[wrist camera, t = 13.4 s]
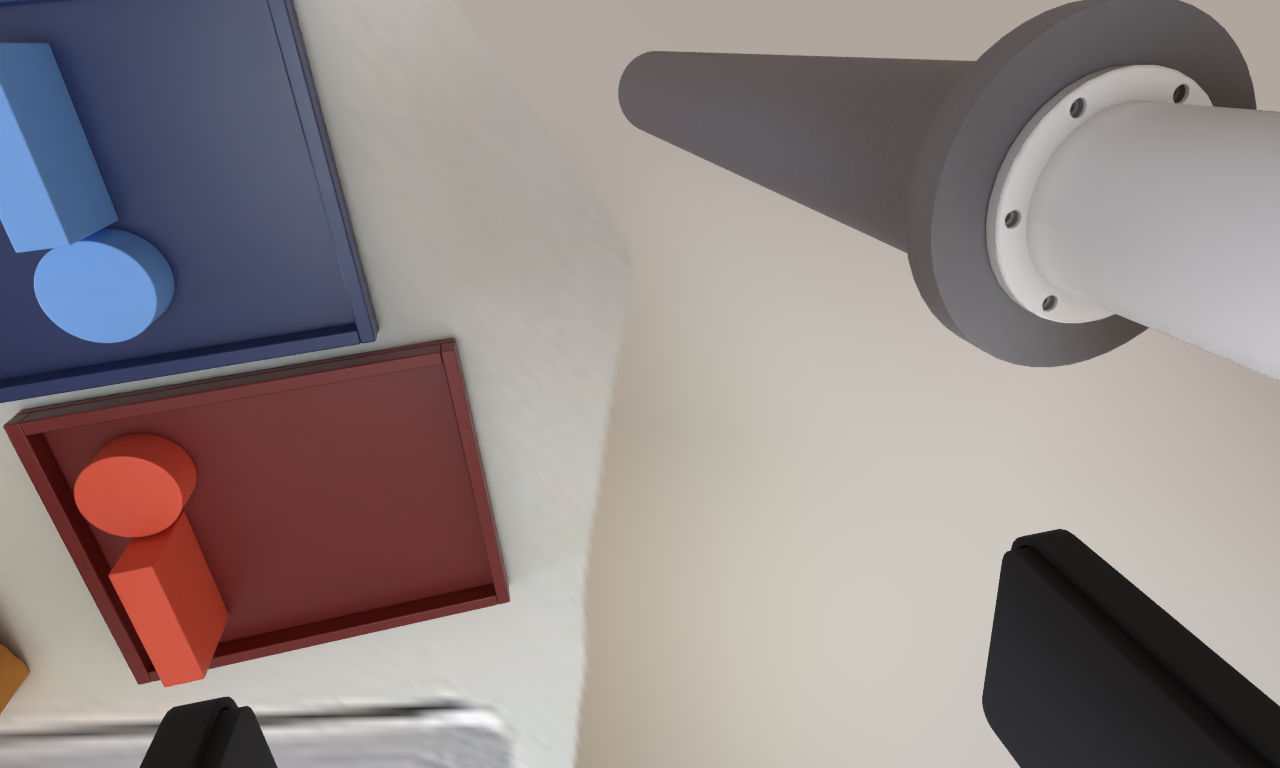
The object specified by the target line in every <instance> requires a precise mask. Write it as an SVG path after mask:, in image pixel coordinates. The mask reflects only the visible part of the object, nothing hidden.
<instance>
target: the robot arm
mask: <svg viewBox="0 0 1280 768" xmlns="http://www.w3.org/2000/svg"><path fill="white" fill-rule="evenodd" d="M986 243H987V251H988V255H989V260H990V264H991V268H992V270H993V272H994V274H995V276H996V279H997V281H998V283H999V285H1000V286H1001V287H1002V289H1003V290H1004V291H1005V292H1006V294H1007V295H1008V296H1009V297H1010V299H1011V300H1013V301H1014V302H1015V303H1017V304H1018V305H1020V306H1021V307H1022V308H1024V309H1025V310H1027V311H1029V312H1031V313H1033V314H1035V315H1037V316H1040V317H1042V318H1044V319H1048V320H1052V321H1056V322H1060V323H1085V322H1090V321H1095V320H1101V319H1103V318H1106V317H1108V316H1111V315H1114V314H1117V315H1120V316H1122V317H1125V318H1127V319H1130V320H1132V321H1134V322H1137V323H1139V324H1142V325H1144V326H1147V327H1149V328H1152V329H1154V330H1156V331H1159V332H1161V333H1164V334H1166V335H1169V336H1171V337H1174V338H1176V339H1179V340H1181V341H1183V342H1186V343H1188V344H1191V345H1193V346H1196V347H1198V348H1201V349H1203V350H1205V351H1208V352H1211V353H1213V354H1215V355H1218V356H1220V357H1223V358H1225V359H1227V360H1230V361H1232V362H1235V363H1237V364H1240V365H1242V366H1245V367H1247V368H1249V369H1252V370H1254V371H1257V372H1259V373H1262V374H1264V375H1267V376H1269V377H1272V378H1274V379H1276V380H1279V381H1280V112H1275V111H1262V110H1250V109H1238V108H1226V107H1214V106H1213V104H1212V103H1211V101H1210V99H1209V97H1208V95H1207V94H1206V93H1205V92H1204V91H1203V90H1202V88H1201V87H1200V86H1199V85H1198V84H1197V83H1196V82H1195V81H1194V80H1193V79H1191V78H1189V77H1187V76H1186V75H1184V74H1182V73H1181V72H1179V71H1177V70H1174V69H1170V68H1166V67H1162V66H1158V65H1141V64H1129V65H1122V66H1114V67H1109V68H1106V69H1103V70H1100V71H1097V72H1094V73H1091V74H1089V75H1086V76H1085V77H1083V78H1081V79H1079V80H1078V81H1076V82H1074V83H1072V84H1071V85H1069V86H1067V87H1065V88H1064V89H1063V90H1062V91H1060V92H1059V93H1058V94H1057V95H1055V96H1054V97H1053V98H1052V99H1051V100H1049V101H1048V102H1047V103H1046V104H1045V105H1043V106H1042V108H1041V109H1040V110H1039V111H1038V112H1037V113H1036V114H1035V115H1034V116H1033V118H1032V119H1031V120H1030V121H1029V122H1028V123H1027V124H1026V125H1025V127H1024V128H1023V130H1022V131H1021V133H1020V134H1019V135H1018V137H1017V138H1016V140H1015V141H1014V143H1013V144H1012V146H1011V147H1010V149H1009V151H1008V153H1007V155H1006V157H1005V159H1004V161H1003V163H1002V165H1001V168H1000V170H999V172H998V174H997V177H996V180H995V183H994V186H993V190H992V193H991V196H990V199H989V206H988V213H987V220H986ZM982 704H983V710H984V713H985V716H986V718H987V721H988V723H989V725H990V726H991V728H992V729H993V731H994V732H995V734H996V735H997V736H998V738H999V739H1000V740H1001V742H1002V743H1003V744H1004V746H1005V747H1006V748H1007V750H1008V751H1009V752H1010V754H1011V755H1012V756H1013V758H1014V759H1015V761H1016V762H1017V763H1018V765H1019V766H1020V767H1021V768H1280V706H1279V705H1277V704H1276V703H1275V702H1274V701H1273V700H1271V699H1270V698H1269V697H1268V696H1267V695H1265V694H1264V693H1263V692H1262V691H1261V690H1259V689H1258V688H1257V687H1256V686H1255V685H1253V684H1252V683H1251V682H1250V681H1249V680H1247V679H1246V678H1245V677H1244V676H1243V675H1241V674H1240V673H1239V672H1238V671H1237V670H1235V669H1234V668H1233V667H1232V666H1231V665H1229V664H1228V663H1227V662H1226V661H1224V660H1223V659H1222V658H1221V657H1220V656H1219V655H1217V654H1216V653H1215V652H1214V651H1213V650H1211V649H1210V648H1209V647H1208V646H1206V645H1205V644H1204V643H1203V642H1202V641H1201V640H1199V639H1198V638H1197V637H1196V636H1195V635H1193V634H1192V633H1191V632H1190V631H1189V630H1187V629H1186V628H1185V627H1184V626H1183V625H1181V624H1180V623H1179V622H1178V621H1177V620H1175V619H1174V618H1173V617H1172V616H1171V615H1169V614H1168V613H1167V612H1166V611H1165V610H1163V609H1162V608H1161V607H1160V606H1159V605H1157V604H1156V603H1155V602H1154V601H1152V600H1151V599H1150V598H1149V597H1148V596H1147V595H1145V594H1144V593H1143V592H1142V591H1140V590H1139V589H1138V588H1137V587H1136V586H1134V585H1133V584H1132V583H1131V582H1130V581H1129V580H1127V579H1126V578H1125V577H1124V576H1123V575H1121V574H1120V573H1119V572H1118V571H1117V570H1115V569H1114V568H1113V567H1112V566H1111V565H1109V564H1108V563H1107V562H1106V561H1105V560H1103V559H1102V558H1101V557H1100V556H1098V555H1097V554H1096V553H1095V552H1094V551H1093V550H1091V549H1090V548H1089V547H1088V546H1087V545H1085V544H1084V543H1083V542H1082V541H1081V540H1079V539H1078V538H1077V537H1076V536H1075V535H1073V534H1072V533H1070V532H1068V531H1067V530H1062V529H1057V530H1052V531H1047V532H1042V533H1037V534H1032V535H1027V536H1023V537H1019V538H1017V539H1016V540H1015V541H1014V542H1013V545H1012V548H1011V551H1008V552H1006V553H1005V554H1004V556H1003V560H1002V566H1001V573H1000V580H999V586H998V593H997V600H996V607H995V614H994V621H993V628H992V635H991V642H990V649H989V656H988V662H987V669H986V676H985V682H984V689H983V696H982ZM140 768H277V765H276V763H275V761H274V758H273V756H272V754H271V751H270V749H269V747H268V744H267V742H266V740H265V737H264V735H263V733H262V730H261V728H260V726H259V723H258V721H257V719H256V716H255V714H254V712H253V711H252V709H251V708H250V707H248V706H244V707H239V708H238V706H237V705H236V703H235V702H234V700H233V699H231V698H230V697H222V698H217V699H212V700H207V701H202V702H197V703H192V704H187V705H182V706H177V707H173V708H172V709H170V710H169V711H168V712H167V713H166V715H165V717H164V718H163V720H162V722H161V724H160V726H159V728H158V730H157V732H156V734H155V736H154V739H153V741H152V743H151V745H150V747H149V749H148V751H147V753H146V755H145V757H144V759H143V762H142V764H141V766H140Z"/></svg>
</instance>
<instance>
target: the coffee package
mask: <svg viewBox="0 0 1280 768" xmlns="http://www.w3.org/2000/svg"><path fill="white" fill-rule="evenodd" d="M28 674H29V672H28V670H27V666H26V665H25V664H24V662H23V661H22V660H20V659H19V658H18V657H16V656H15V655H14V654H13V653H12V652H11V651H10V650H8V649H7V648H6V647H5V646H3V645H2V644H1V643H0V714H1V712H2V711H3V709H4V708H5V706H6V705H7V704H8V702H9V701H10V699H11V698H12V696H13V695H14V693H15V692H16V691H17V689H18V688H19V686H20V685H21V684H22V682H23V681H24V680H25V678H26V677H27V676H28Z"/></svg>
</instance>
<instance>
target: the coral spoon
mask: <svg viewBox="0 0 1280 768" xmlns="http://www.w3.org/2000/svg"><path fill="white" fill-rule="evenodd" d="M196 481H197V473H196V468H195V465H194V463H193V461H192V459H191V458H190V456H189V455H188V454H187V453H186V452H185V450H183V449H182V448H181V447H180V446H179V445H177V444H176V443H174V442H172V441H170V440H168V439H166V438H163V437H160V436H157V435H152V434H143V433H142V434H129V435H125V436H121V437H118V438H116V439H114V440H112V441H110V442H109V443H108V444H106V445H105V446H104V447H103V448H102V449H101V450H100V451H99V453H98V454H97V455H96V456H95V457H94V458H93V459H92V460H91V462H90V463H89V464H88V465H87V466H86V467H85V468H84V470H83V471H82V472H81V473H80V475H79V476H78V478H77V480H76V483H75V486H74V498H75V503H76V505H77V507H78V509H79V511H80V512H81V514H82V515H83V516H84V517H85V518H86V519H87V520H88V521H89V522H90V523H91V524H93V525H94V526H96V527H97V528H99V529H101V530H103V531H105V532H107V533H110V534H113V535H117V536H123V537H133V538H132V540H131V542H130V543H129V545H128V546H127V548H126V549H125V551H124V552H123V554H122V555H121V557H120V558H119V560H118V561H117V563H116V564H115V566H114V567H113V569H112V570H111V572H110V574H109V578H110V580H111V582H112V584H113V586H114V588H115V590H116V592H117V594H118V596H119V598H120V600H121V602H122V604H123V606H124V608H125V610H126V612H127V614H128V616H129V618H130V620H131V622H132V624H133V626H134V628H135V630H136V632H137V634H138V636H139V638H140V640H141V642H142V644H143V645H144V647H145V649H146V651H147V653H148V655H149V657H150V659H151V661H152V663H153V665H154V667H155V669H156V671H157V673H158V675H159V677H160V679H161V681H162V683H163V685H164V687H169V686H173V685H178V684H182V683H187V682H191V681H196V680H200V679H204V678H205V675H206V673H207V670H208V668H209V665H210V663H211V660H212V658H213V655H214V653H215V650H216V648H217V645H218V643H219V640H220V637H221V635H222V632H223V630H224V627H225V625H226V622H227V620H228V617H229V614H228V611H227V609H226V607H225V604H224V602H223V600H222V597H221V595H220V593H219V590H218V588H217V586H216V583H215V581H214V579H213V576H212V574H211V572H210V569H209V567H208V565H207V562H206V560H205V558H204V555H203V553H202V551H201V548H200V546H199V544H198V541H197V539H196V537H195V534H194V532H193V530H192V527H191V525H190V523H189V521H188V518H187V516H186V514H185V511H182V509H183V507H184V506H185V504H186V502H187V501H188V499H189V497H190V495H191V494H192V492H193V490H194V488H195V485H196Z"/></svg>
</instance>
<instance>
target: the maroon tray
mask: <svg viewBox="0 0 1280 768" xmlns="http://www.w3.org/2000/svg"><path fill="white" fill-rule="evenodd" d="M3 427H4V429H5V431H6V433H7V435H8V437H9V439H10V441H11V442H12V444H13V446H14V448H15V450H16V452H17V454H18V456H19V458H20V460H21V462H22V463H23V465H24V467H25V469H26V471H27V473H28V475H29V477H30V479H31V481H32V483H33V484H34V486H35V488H36V490H37V492H38V494H39V496H40V498H41V500H42V502H43V504H44V505H45V507H46V509H47V511H48V513H49V515H50V517H51V519H52V521H53V523H54V525H55V526H56V528H57V530H58V532H59V534H60V536H61V538H62V540H63V542H64V544H65V545H66V547H67V549H68V551H69V553H70V555H71V557H72V559H73V561H74V563H75V565H76V566H77V568H78V570H79V572H80V574H81V576H82V578H83V580H84V582H85V584H86V586H87V587H88V589H89V591H90V593H91V595H92V597H93V599H94V601H95V603H96V605H97V607H98V608H99V610H100V612H101V614H102V616H103V618H104V620H105V622H106V624H107V626H108V627H109V629H110V631H111V633H112V635H113V637H114V639H115V641H116V643H117V645H118V647H119V648H120V650H121V652H122V654H123V656H124V658H125V660H126V662H127V664H128V666H129V668H130V669H131V671H132V673H133V675H134V677H135V679H136V681H137V683H138V684H144V683H149V682H151V681H158V680H161V679H160V677H159V675H158V673H157V671H156V669H155V667H154V665H153V663H152V661H151V659H150V657H149V655H148V653H147V651H146V649H145V647H144V645H143V644H142V642H141V640H140V638H139V636H138V634H137V632H136V630H135V628H134V626H133V624H132V622H131V620H130V618H129V616H128V614H127V612H126V610H125V608H124V606H123V604H122V602H121V600H120V598H119V596H118V594H117V592H116V590H115V588H114V586H113V584H112V582H111V580H110V578H109V574H110V572H111V570H112V569H113V567H114V566H115V564H116V563H117V561H118V560H119V558H120V557H121V555H122V554H123V552H124V551H125V549H126V548H127V546H128V545H129V543H130V542H131V540H132V538H133V537H123V536H117V535H113V534H110V533H107V532H105V531H103V530H101V529H99V528H97V527H96V526H94V525H93V524H91V523H90V522H89V521H88V520H87V519H86V518H85V517H84V516H83V515H82V514H81V512H80V511H79V509H78V507H77V505H76V503H75V498H74V486H75V483H76V480H77V478H78V476H79V475H80V473H81V472H82V471H83V470H84V468H85V467H86V466H87V465H88V464H89V463H90V462H91V460H92V459H93V458H94V457H95V456H96V455H97V454H98V453H99V451H100V450H101V449H102V448H103V447H104V446H105V445H106V444H108V443H109V442H110V441H112V440H114V439H116V438H118V437H121V436H125V435H129V434H142V433H143V434H152V435H157V436H160V437H163V438H166V439H168V440H170V441H172V442H174V443H176V444H177V445H179V446H180V447H181V448H182V449H183V450H185V452H186V453H187V454H188V455H189V456H190V458H191V459H192V461H193V463H194V465H195V468H196V473H197V481H196V485H195V488H194V490H193V492H192V494H191V495H190V497H189V499H188V501H187V502H186V504H185V506H184V507H183V509H182V511H185V514H186V516H187V518H188V521H189V523H190V525H191V527H192V530H193V532H194V534H195V537H196V539H197V541H198V544H199V546H200V548H201V551H202V553H203V555H204V558H205V560H206V562H207V565H208V567H209V569H210V572H211V574H212V576H213V579H214V581H215V583H216V586H217V588H218V590H219V593H220V595H221V597H222V600H223V602H224V604H225V607H226V609H227V611H228V614H229V617H228V620H227V622H226V625H225V627H224V630H223V632H222V635H221V637H220V640H219V643H218V645H217V648H216V650H215V653H214V655H213V658H212V660H211V663H210V665H209V668H208V669H211V668H216V667H220V666H225V665H229V664H234V663H238V662H243V661H247V660H252V659H256V658H261V657H265V656H270V655H274V654H279V653H283V652H288V651H292V650H296V649H301V648H305V647H310V646H314V645H319V644H323V643H328V642H332V641H337V640H341V639H346V638H350V637H355V636H359V635H364V634H368V633H373V632H377V631H382V630H386V629H390V628H395V627H399V626H404V625H408V624H413V623H417V622H422V621H426V620H431V619H435V618H440V617H444V616H449V615H453V614H458V613H462V612H467V611H471V610H476V609H480V608H485V607H489V606H493V605H497V604H502V603H507V602H509V601H510V596H509V585H508V580H507V576H506V571H505V566H504V562H503V557H502V553H501V548H500V543H499V539H498V534H497V530H496V525H495V520H494V516H493V511H492V507H491V502H490V497H489V493H488V488H487V484H486V479H485V474H484V470H483V465H482V460H481V456H480V451H479V447H478V442H477V437H476V433H475V428H474V424H473V419H472V414H471V410H470V405H469V401H468V396H467V391H466V387H465V382H464V378H463V373H462V368H461V364H460V359H459V355H458V350H457V345H456V341H455V339H454V338H453V339H447V340H441V341H435V342H429V343H423V344H417V345H411V346H405V347H399V348H393V349H387V350H381V351H375V352H369V353H363V354H357V355H351V356H345V357H339V358H333V359H327V360H321V361H315V362H309V363H303V364H297V365H291V366H285V367H279V368H273V369H267V370H261V371H255V372H249V373H243V374H237V375H231V376H225V377H219V378H213V379H207V380H201V381H195V382H189V383H183V384H177V385H171V386H165V387H159V388H153V389H147V390H141V391H135V392H129V393H123V394H117V395H111V396H105V397H99V398H93V399H87V400H81V401H75V402H69V403H63V404H57V405H51V406H45V407H39V408H33V409H27V410H21V411H20V412H19V413H17V414H16V416H14V417H13V418H12V419H11V420H10V421H8V422H7V423H6V424H5V425H4V426H3Z"/></svg>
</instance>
